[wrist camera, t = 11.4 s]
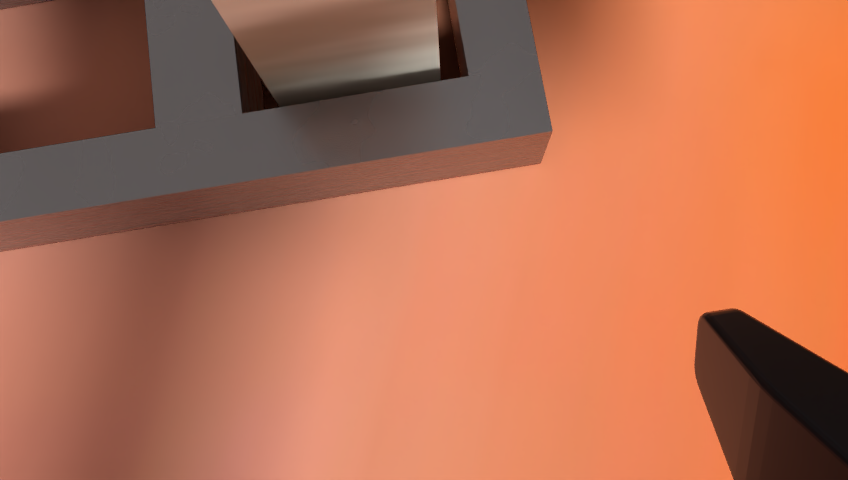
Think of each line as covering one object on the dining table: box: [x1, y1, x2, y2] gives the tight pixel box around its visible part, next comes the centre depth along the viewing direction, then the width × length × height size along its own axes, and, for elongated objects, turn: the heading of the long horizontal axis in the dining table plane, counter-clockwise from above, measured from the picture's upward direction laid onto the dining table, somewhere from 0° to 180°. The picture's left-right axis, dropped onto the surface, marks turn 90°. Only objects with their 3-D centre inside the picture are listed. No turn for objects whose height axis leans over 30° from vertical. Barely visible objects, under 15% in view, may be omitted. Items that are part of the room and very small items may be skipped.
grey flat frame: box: [0, 0, 552, 252], centre depth 23 cm, size 10×20×3 cm, turn 99°
